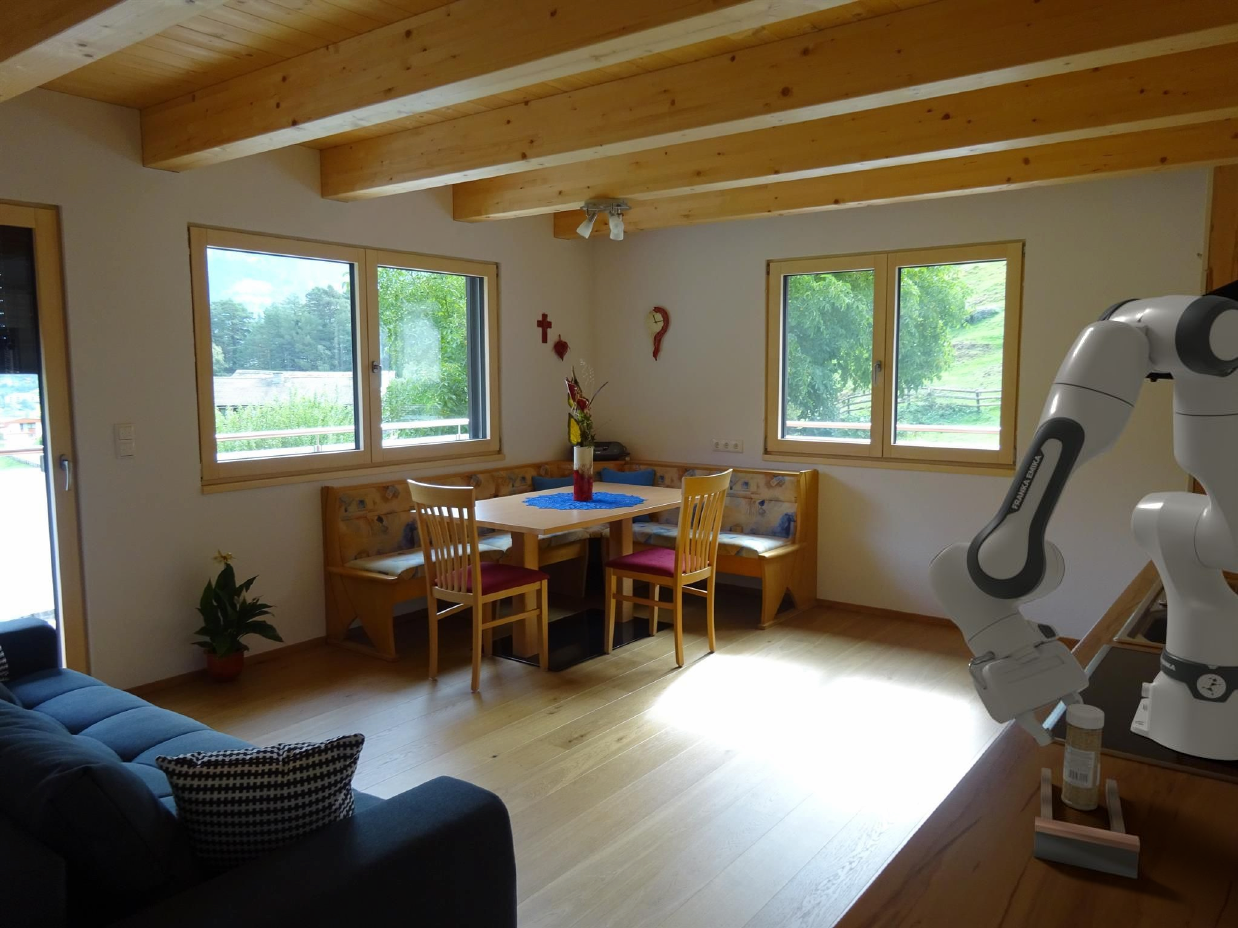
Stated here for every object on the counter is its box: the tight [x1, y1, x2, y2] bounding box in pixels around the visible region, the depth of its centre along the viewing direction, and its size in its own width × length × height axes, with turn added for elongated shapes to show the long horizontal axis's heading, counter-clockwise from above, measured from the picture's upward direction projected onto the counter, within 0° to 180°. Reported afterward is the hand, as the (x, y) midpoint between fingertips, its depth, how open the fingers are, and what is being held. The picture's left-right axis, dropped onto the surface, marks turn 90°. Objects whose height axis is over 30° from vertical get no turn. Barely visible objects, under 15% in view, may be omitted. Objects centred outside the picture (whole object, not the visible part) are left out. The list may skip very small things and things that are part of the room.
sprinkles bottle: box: [1060, 703, 1105, 811], centre depth 124 cm, size 5×5×14 cm
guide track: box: [1033, 767, 1141, 880], centre depth 119 cm, size 22×11×4 cm, turn 155°
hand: (1067, 735), depth 125 cm, fingers open, 8 cm apart
